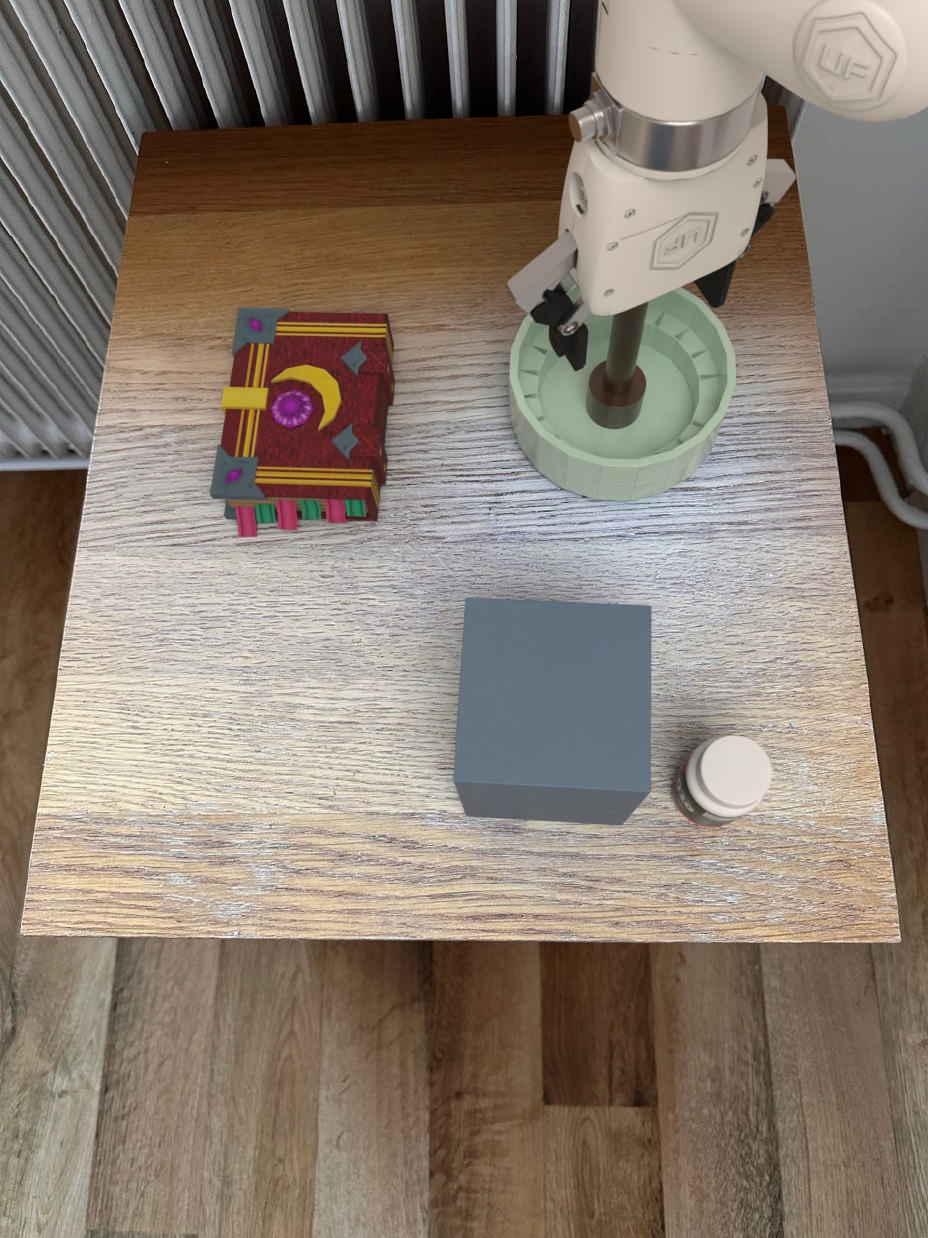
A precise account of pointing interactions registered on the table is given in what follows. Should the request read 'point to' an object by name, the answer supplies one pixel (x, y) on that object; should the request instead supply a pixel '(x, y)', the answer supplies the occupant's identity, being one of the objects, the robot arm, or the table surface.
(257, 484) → the decorative book
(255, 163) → the table surface
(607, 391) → the brown wooden handle
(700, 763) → the pill bottle
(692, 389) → the bowl
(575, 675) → the stand
